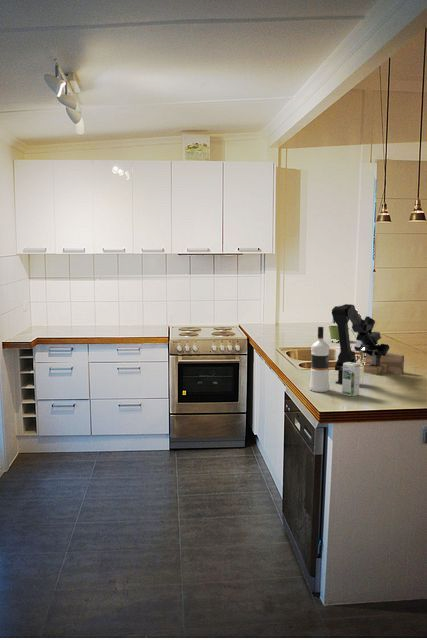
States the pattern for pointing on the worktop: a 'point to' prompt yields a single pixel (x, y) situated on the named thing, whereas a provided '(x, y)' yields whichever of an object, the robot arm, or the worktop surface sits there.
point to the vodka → (319, 364)
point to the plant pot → (334, 332)
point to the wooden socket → (385, 364)
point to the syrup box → (350, 379)
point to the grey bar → (375, 360)
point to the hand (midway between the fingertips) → (377, 357)
